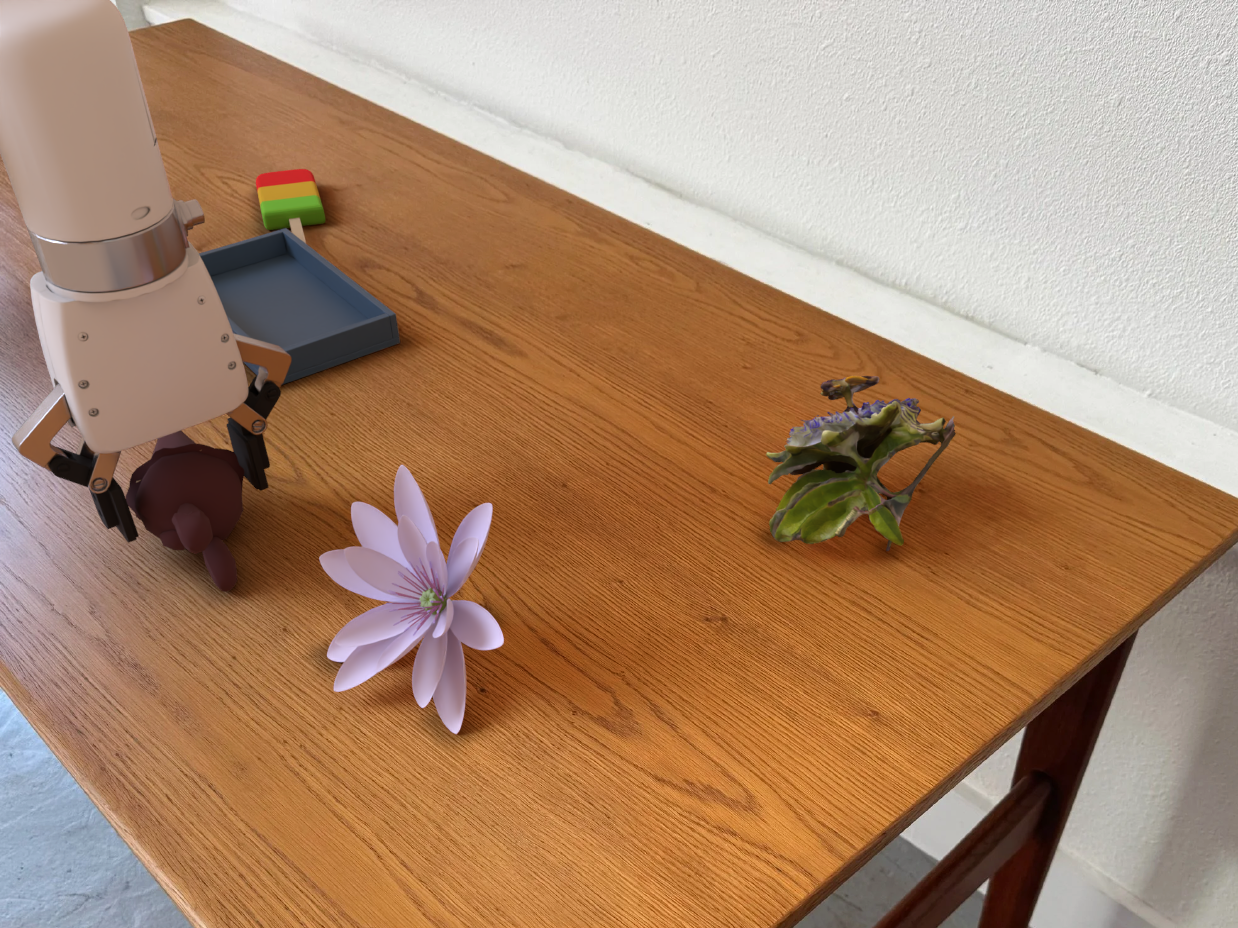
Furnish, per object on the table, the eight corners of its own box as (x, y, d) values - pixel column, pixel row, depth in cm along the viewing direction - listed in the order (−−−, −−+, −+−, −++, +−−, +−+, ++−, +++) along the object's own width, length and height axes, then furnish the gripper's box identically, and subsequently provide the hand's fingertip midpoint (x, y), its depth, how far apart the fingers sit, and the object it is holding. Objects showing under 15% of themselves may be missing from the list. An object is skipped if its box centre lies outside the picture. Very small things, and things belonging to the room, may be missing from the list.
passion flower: (825, 546, 88) (906, 392, 85) (923, 612, 80) (1017, 445, 77) (710, 503, 81) (793, 334, 78) (804, 571, 73) (902, 385, 70)
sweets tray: (270, 389, 93) (263, 358, 91) (170, 292, 104) (162, 263, 102) (400, 343, 98) (396, 313, 96) (291, 255, 109) (286, 227, 107)
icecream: (86, 408, 79) (122, 558, 70) (193, 360, 80) (242, 503, 71) (142, 481, 85) (181, 629, 76) (241, 436, 86) (292, 578, 77)
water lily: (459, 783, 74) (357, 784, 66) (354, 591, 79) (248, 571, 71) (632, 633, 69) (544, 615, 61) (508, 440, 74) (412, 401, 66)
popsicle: (315, 184, 120) (311, 165, 119) (334, 252, 110) (330, 232, 108) (257, 191, 119) (253, 172, 117) (271, 261, 108) (266, 240, 107)
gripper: (232, 181, 73) (289, 432, 85) (-78, 264, 65) (34, 527, 77) (289, 226, 68) (341, 483, 80) (-35, 320, 60) (76, 589, 72)
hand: (190, 503), depth 78 cm, fingers open, 8 cm apart
